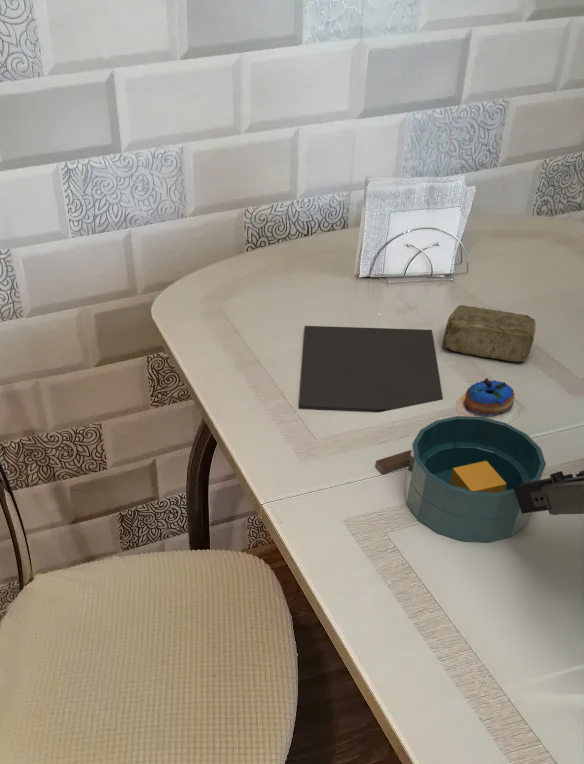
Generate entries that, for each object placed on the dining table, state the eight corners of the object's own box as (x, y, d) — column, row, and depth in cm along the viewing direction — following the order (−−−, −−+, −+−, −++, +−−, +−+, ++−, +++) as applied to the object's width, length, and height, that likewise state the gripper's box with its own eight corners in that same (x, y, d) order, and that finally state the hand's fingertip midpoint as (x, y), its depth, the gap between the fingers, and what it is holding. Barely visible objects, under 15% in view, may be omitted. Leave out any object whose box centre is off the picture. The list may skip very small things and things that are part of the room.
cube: (479, 488, 87) (486, 460, 85) (499, 512, 84) (506, 483, 82) (446, 496, 86) (452, 467, 84) (465, 520, 84) (471, 491, 81)
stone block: (527, 367, 106) (535, 334, 102) (439, 353, 109) (445, 320, 106) (531, 345, 110) (539, 313, 106) (446, 332, 113) (452, 300, 110)
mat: (431, 332, 113) (431, 329, 113) (444, 415, 99) (445, 411, 98) (304, 328, 115) (304, 325, 115) (298, 408, 101) (298, 405, 100)
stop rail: (461, 443, 94) (464, 433, 93) (469, 450, 93) (472, 440, 92) (374, 470, 91) (375, 460, 90) (381, 478, 90) (382, 468, 89)
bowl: (517, 468, 91) (531, 418, 86) (539, 549, 81) (557, 498, 76) (400, 463, 92) (408, 414, 87) (409, 542, 82) (418, 492, 78)
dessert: (496, 382, 102) (517, 364, 96) (515, 429, 101) (537, 414, 95) (439, 398, 101) (457, 381, 95) (458, 446, 100) (477, 432, 94)
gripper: (687, 544, 52) (480, 555, 75) (827, 488, 56) (589, 515, 79) (651, 435, 52) (455, 479, 75) (793, 386, 56) (565, 443, 79)
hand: (524, 498), depth 77 cm, fingers closed
